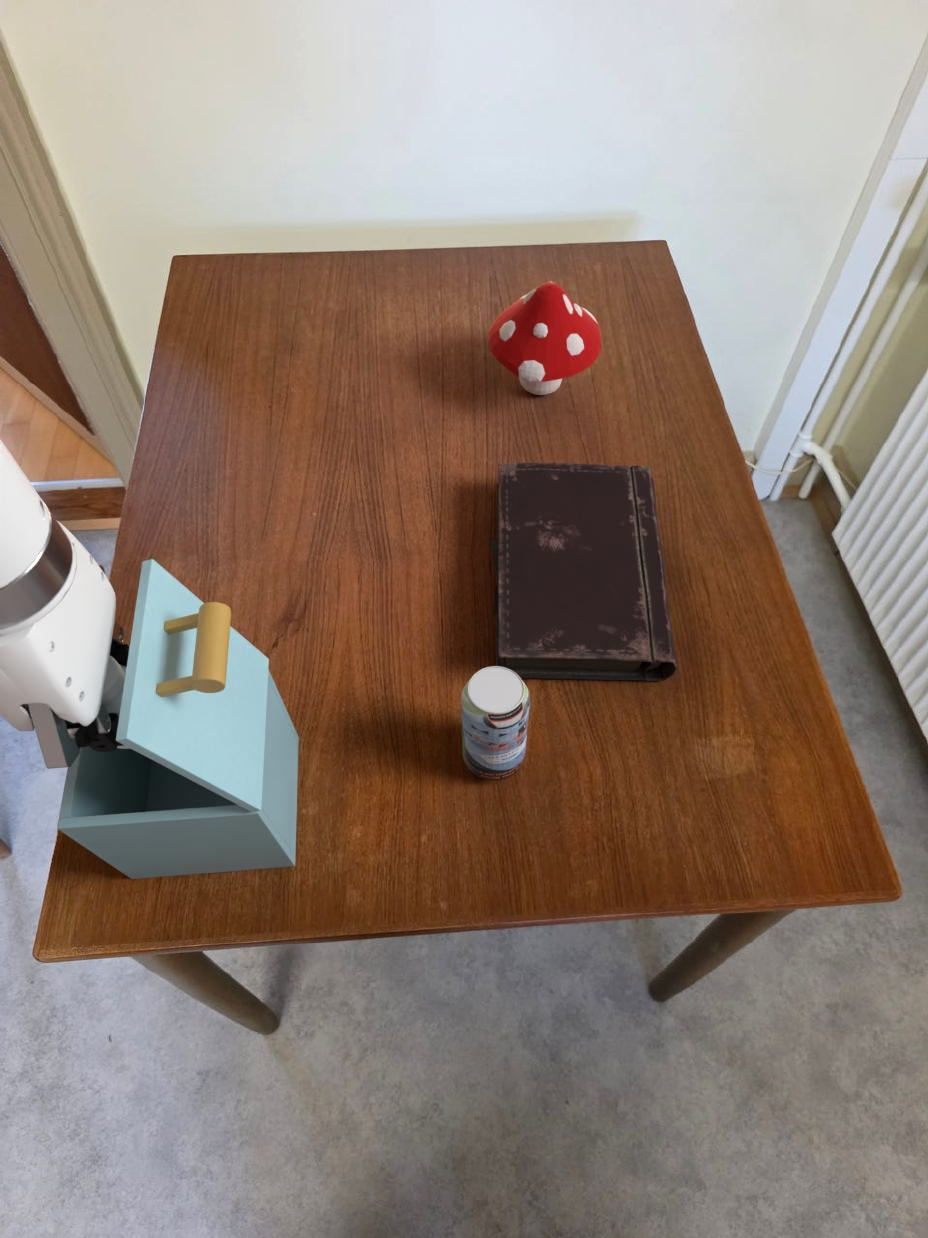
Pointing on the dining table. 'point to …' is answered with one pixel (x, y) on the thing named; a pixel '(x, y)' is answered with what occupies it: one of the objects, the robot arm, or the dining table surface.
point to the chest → (183, 810)
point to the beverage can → (494, 723)
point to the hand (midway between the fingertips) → (117, 707)
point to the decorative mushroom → (545, 338)
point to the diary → (580, 573)
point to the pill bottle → (114, 688)
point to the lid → (194, 691)
